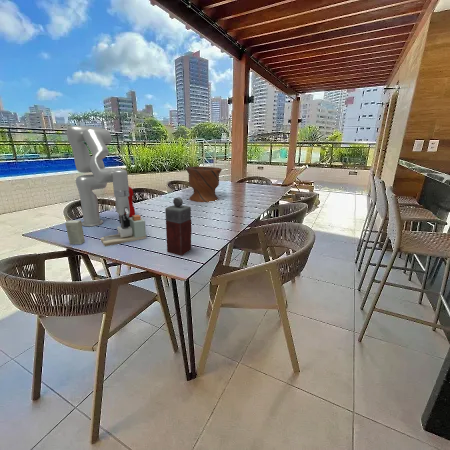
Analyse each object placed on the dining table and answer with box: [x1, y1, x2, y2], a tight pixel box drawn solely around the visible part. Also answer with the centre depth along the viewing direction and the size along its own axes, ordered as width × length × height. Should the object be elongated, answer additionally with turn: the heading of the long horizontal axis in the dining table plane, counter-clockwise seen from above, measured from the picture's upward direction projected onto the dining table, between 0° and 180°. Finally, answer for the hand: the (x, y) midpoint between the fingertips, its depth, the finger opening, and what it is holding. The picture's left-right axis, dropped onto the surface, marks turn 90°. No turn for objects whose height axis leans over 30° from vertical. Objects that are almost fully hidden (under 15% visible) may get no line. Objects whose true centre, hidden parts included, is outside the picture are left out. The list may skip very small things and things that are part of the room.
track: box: [99, 233, 147, 247], centre depth 139 cm, size 10×22×4 cm, turn 127°
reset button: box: [131, 214, 142, 221], centre depth 141 cm, size 4×4×3 cm
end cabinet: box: [129, 217, 147, 238], centre depth 142 cm, size 10×6×9 cm, turn 37°
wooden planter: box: [185, 166, 223, 203], centre depth 239 cm, size 34×35×29 cm
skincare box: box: [64, 219, 86, 245], centre depth 131 cm, size 6×4×12 cm
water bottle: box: [125, 186, 136, 218], centre depth 177 cm, size 9×11×25 cm
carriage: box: [116, 215, 133, 238], centre depth 138 cm, size 7×6×12 cm
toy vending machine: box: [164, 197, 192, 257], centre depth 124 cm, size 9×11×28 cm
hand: (124, 224), depth 138 cm, fingers open, 7 cm apart
